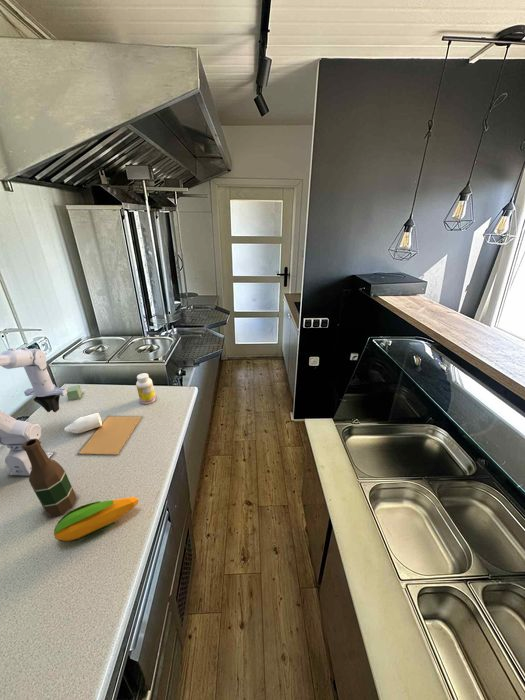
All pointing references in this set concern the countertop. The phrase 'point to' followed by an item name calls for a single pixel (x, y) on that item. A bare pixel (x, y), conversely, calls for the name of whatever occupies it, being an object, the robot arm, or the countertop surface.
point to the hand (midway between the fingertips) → (53, 410)
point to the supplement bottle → (145, 388)
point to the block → (74, 392)
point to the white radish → (84, 423)
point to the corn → (92, 518)
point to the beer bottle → (49, 480)
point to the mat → (110, 436)
